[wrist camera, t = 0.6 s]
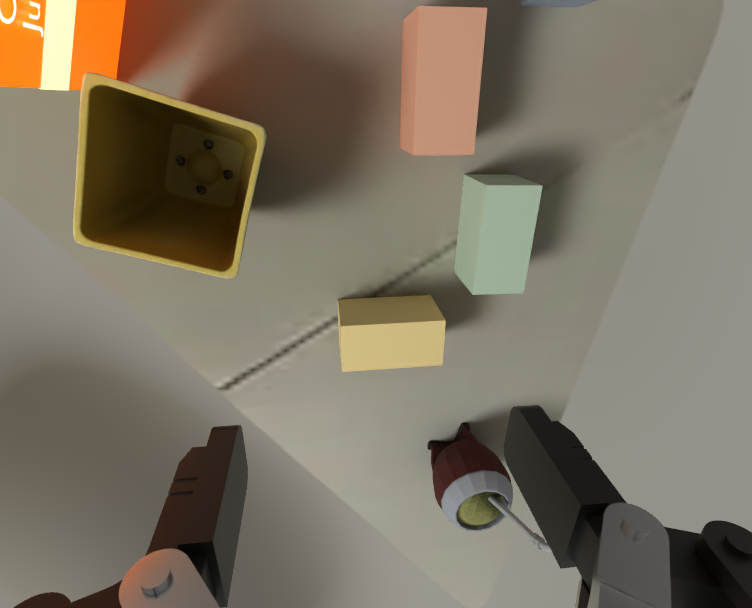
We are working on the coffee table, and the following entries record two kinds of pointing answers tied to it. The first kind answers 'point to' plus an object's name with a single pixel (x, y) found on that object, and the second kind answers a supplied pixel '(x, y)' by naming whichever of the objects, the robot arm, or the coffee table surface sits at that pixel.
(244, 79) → the coffee table surface
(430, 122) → the terracotta brick
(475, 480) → the mate gourd
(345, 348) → the ochre brick
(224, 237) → the flower pot
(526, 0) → the slate brick
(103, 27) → the orange juice
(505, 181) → the sage brick
